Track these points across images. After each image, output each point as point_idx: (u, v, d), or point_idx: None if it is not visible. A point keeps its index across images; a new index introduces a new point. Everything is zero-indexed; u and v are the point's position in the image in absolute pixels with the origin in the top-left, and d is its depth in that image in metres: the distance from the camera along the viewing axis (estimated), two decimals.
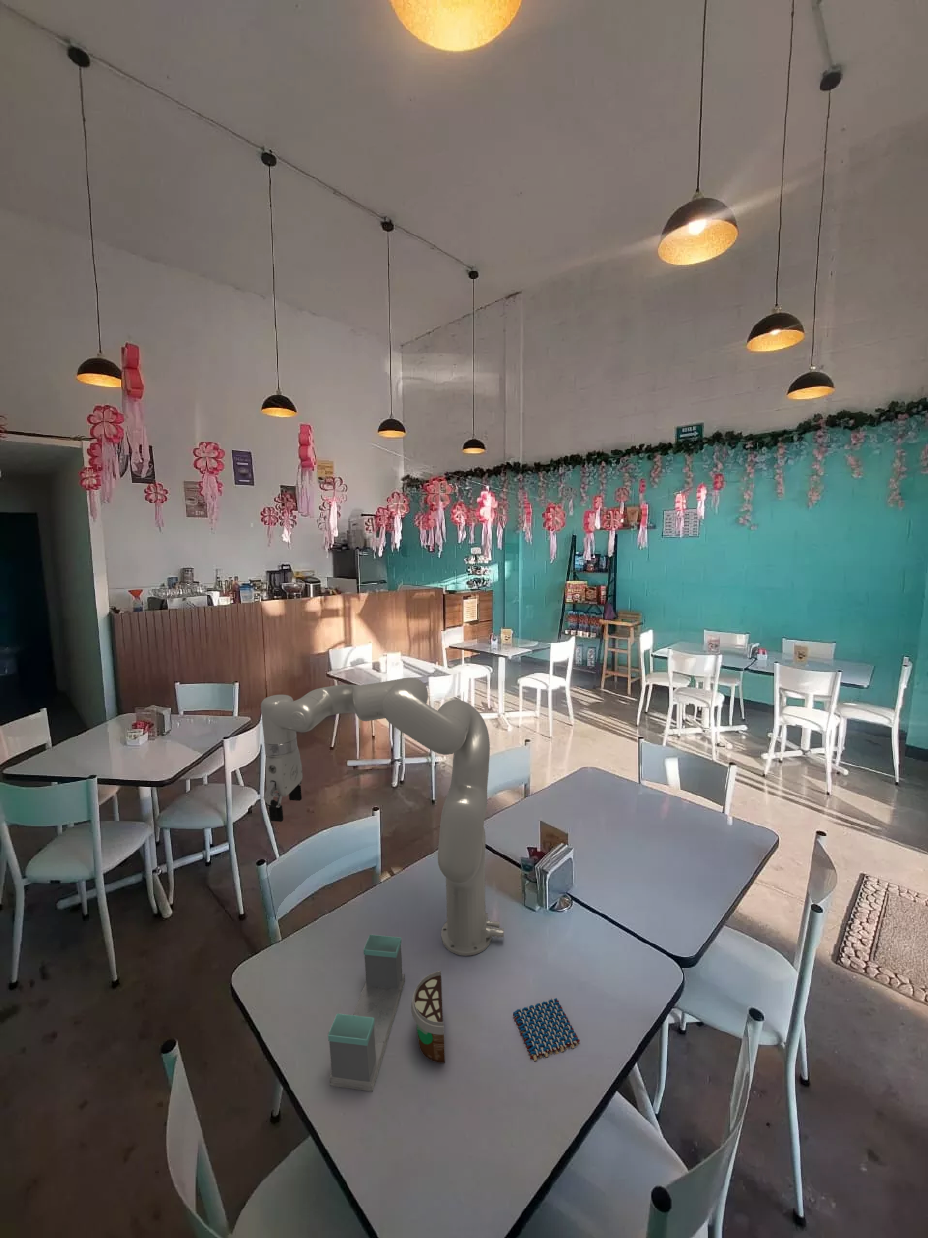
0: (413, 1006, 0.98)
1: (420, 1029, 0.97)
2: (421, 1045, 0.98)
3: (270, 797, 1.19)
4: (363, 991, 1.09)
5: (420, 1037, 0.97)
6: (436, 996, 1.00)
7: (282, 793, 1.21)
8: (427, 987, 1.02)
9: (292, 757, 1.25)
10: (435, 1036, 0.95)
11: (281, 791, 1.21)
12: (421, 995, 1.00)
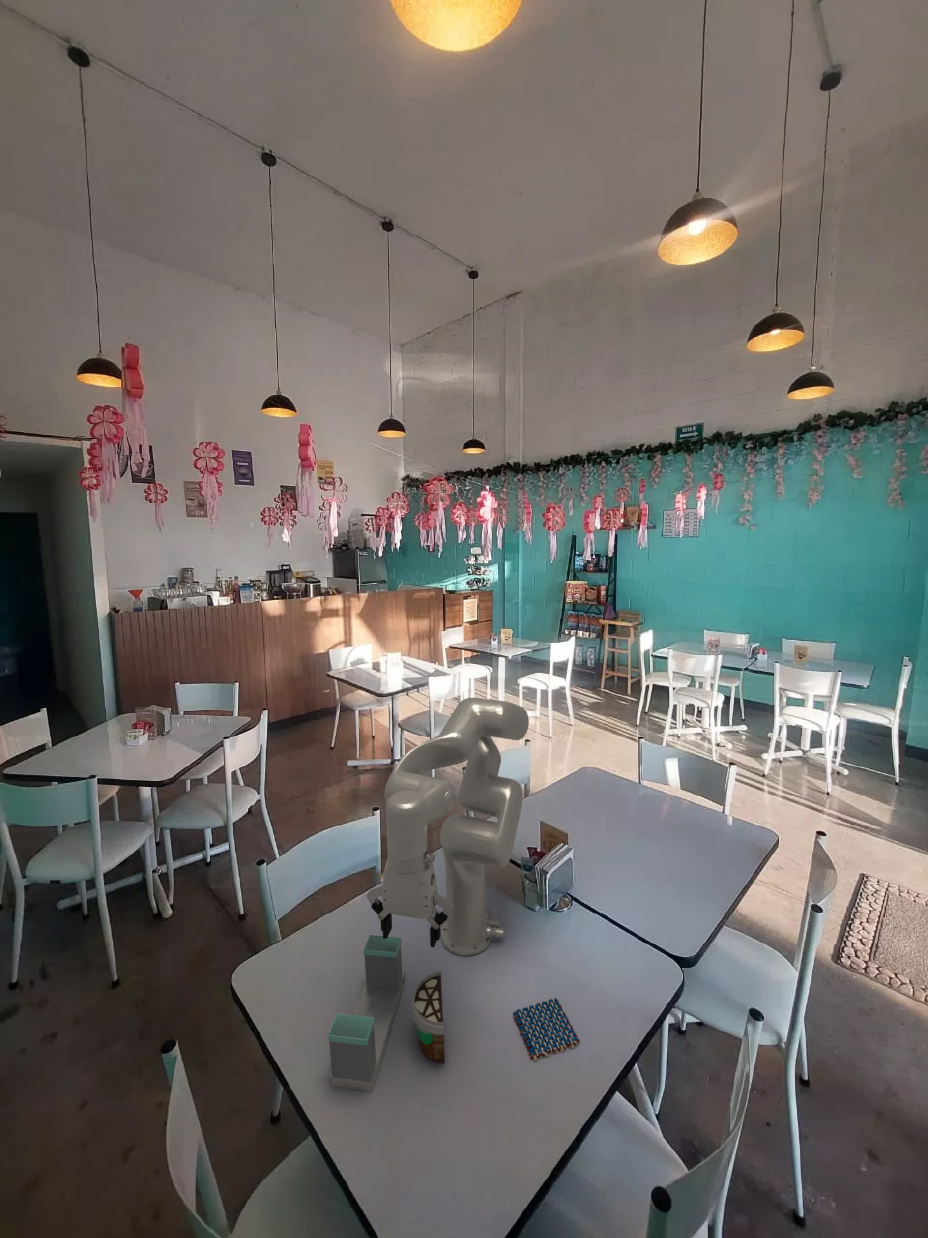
0: (413, 1006, 0.98)
1: (420, 1029, 0.97)
2: (421, 1045, 0.98)
3: None
4: (363, 991, 1.09)
5: (420, 1037, 0.97)
6: (436, 996, 1.00)
7: None
8: (427, 987, 1.02)
9: None
10: (435, 1036, 0.95)
11: None
12: (421, 995, 1.00)
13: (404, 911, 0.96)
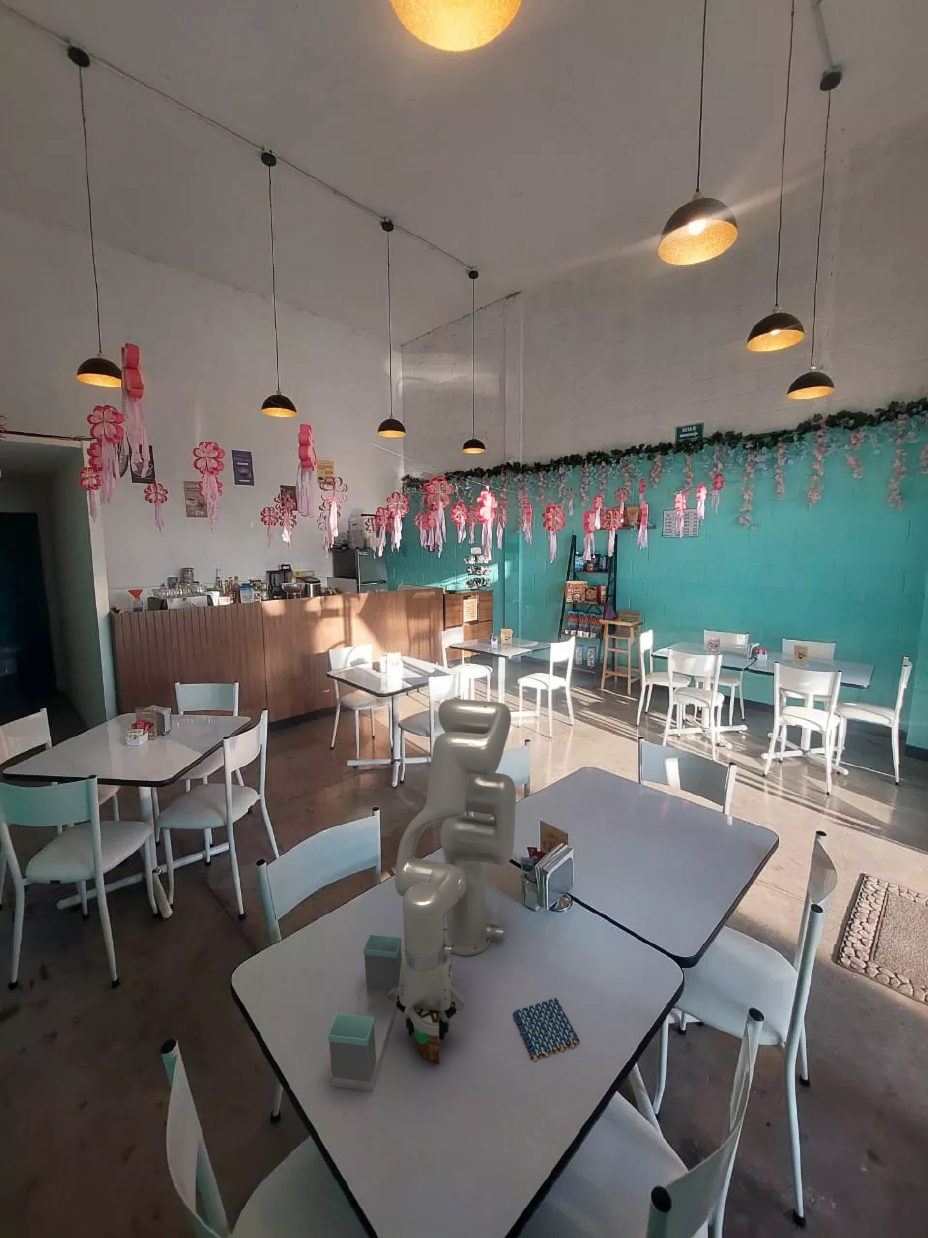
0: None
1: (416, 1028, 0.97)
2: (417, 1044, 0.98)
3: None
4: (363, 991, 1.09)
5: (416, 1036, 0.97)
6: None
7: None
8: None
9: None
10: (430, 1037, 0.95)
11: (453, 986, 1.00)
12: None
13: (422, 1004, 0.96)
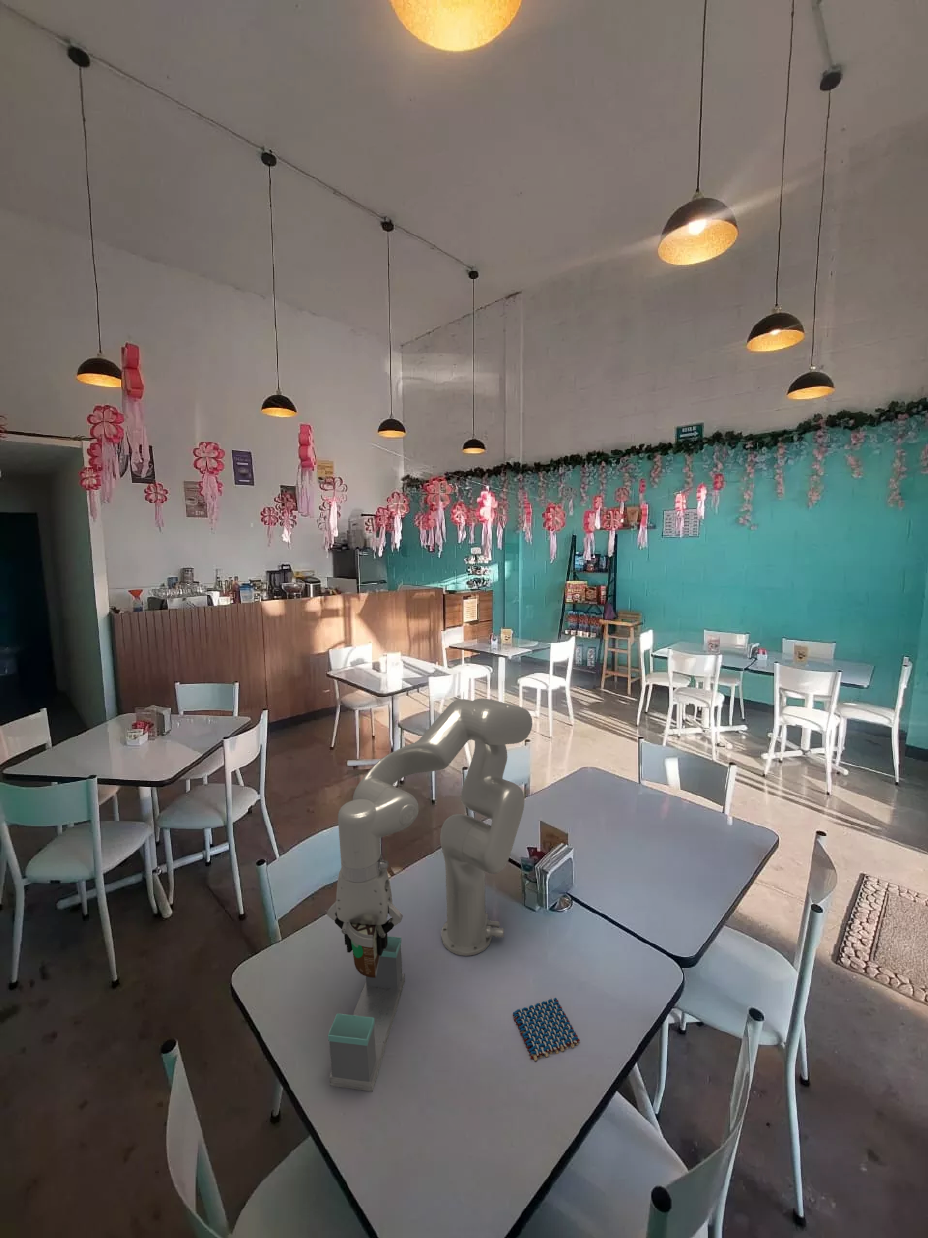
0: None
1: (352, 943, 0.97)
2: (354, 960, 0.98)
3: None
4: (363, 991, 1.09)
5: (353, 951, 0.98)
6: None
7: None
8: None
9: None
10: (365, 950, 0.95)
11: (391, 903, 1.00)
12: None
13: (359, 919, 0.97)
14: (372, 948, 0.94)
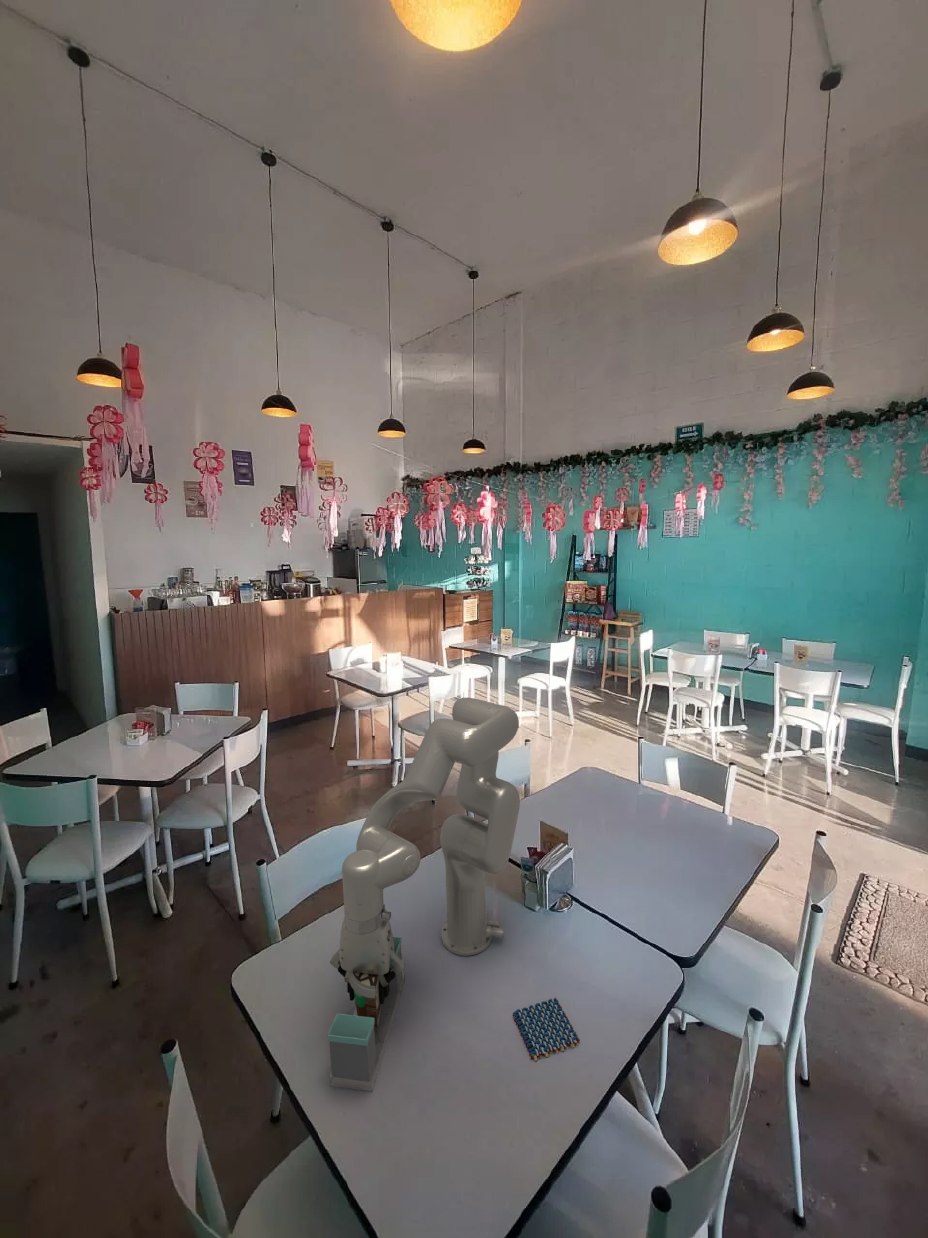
0: None
1: (355, 992, 0.99)
2: (357, 1008, 1.00)
3: None
4: None
5: (356, 1000, 0.99)
6: None
7: None
8: None
9: None
10: (368, 1000, 0.97)
11: (394, 952, 1.02)
12: None
13: (361, 968, 0.98)
14: (374, 999, 0.96)
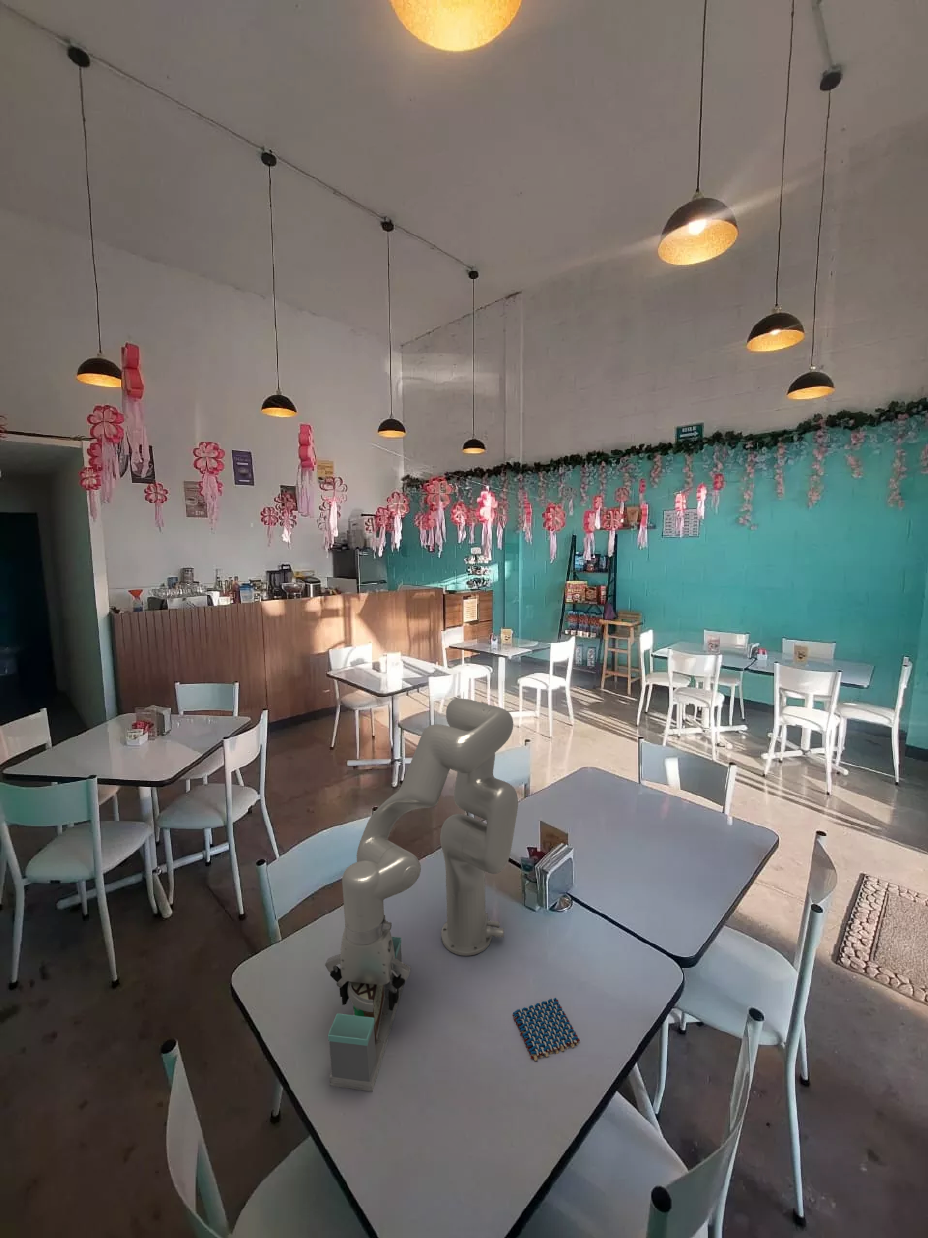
0: (349, 983, 1.01)
1: (354, 1005, 0.99)
2: None
3: None
4: None
5: (355, 1013, 1.00)
6: None
7: None
8: None
9: None
10: (366, 1013, 0.97)
11: None
12: None
13: (362, 978, 0.99)
14: (373, 1012, 0.97)
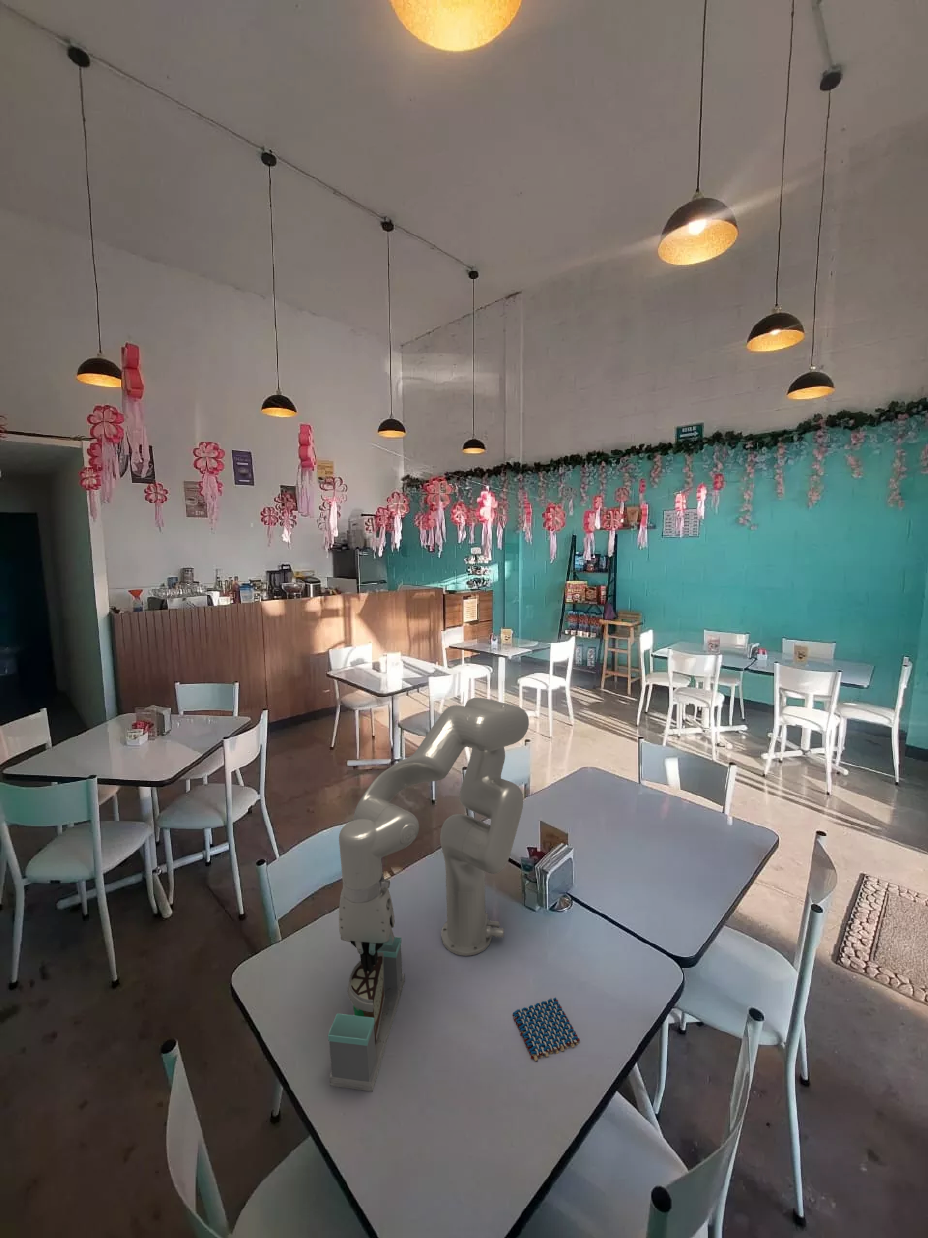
0: (349, 983, 1.01)
1: (354, 1005, 0.99)
2: None
3: None
4: None
5: (354, 1013, 1.00)
6: (373, 975, 1.02)
7: (394, 922, 1.01)
8: None
9: None
10: (366, 1013, 0.97)
11: (394, 921, 1.01)
12: (359, 973, 1.03)
13: (361, 937, 0.98)
14: (372, 1012, 0.97)
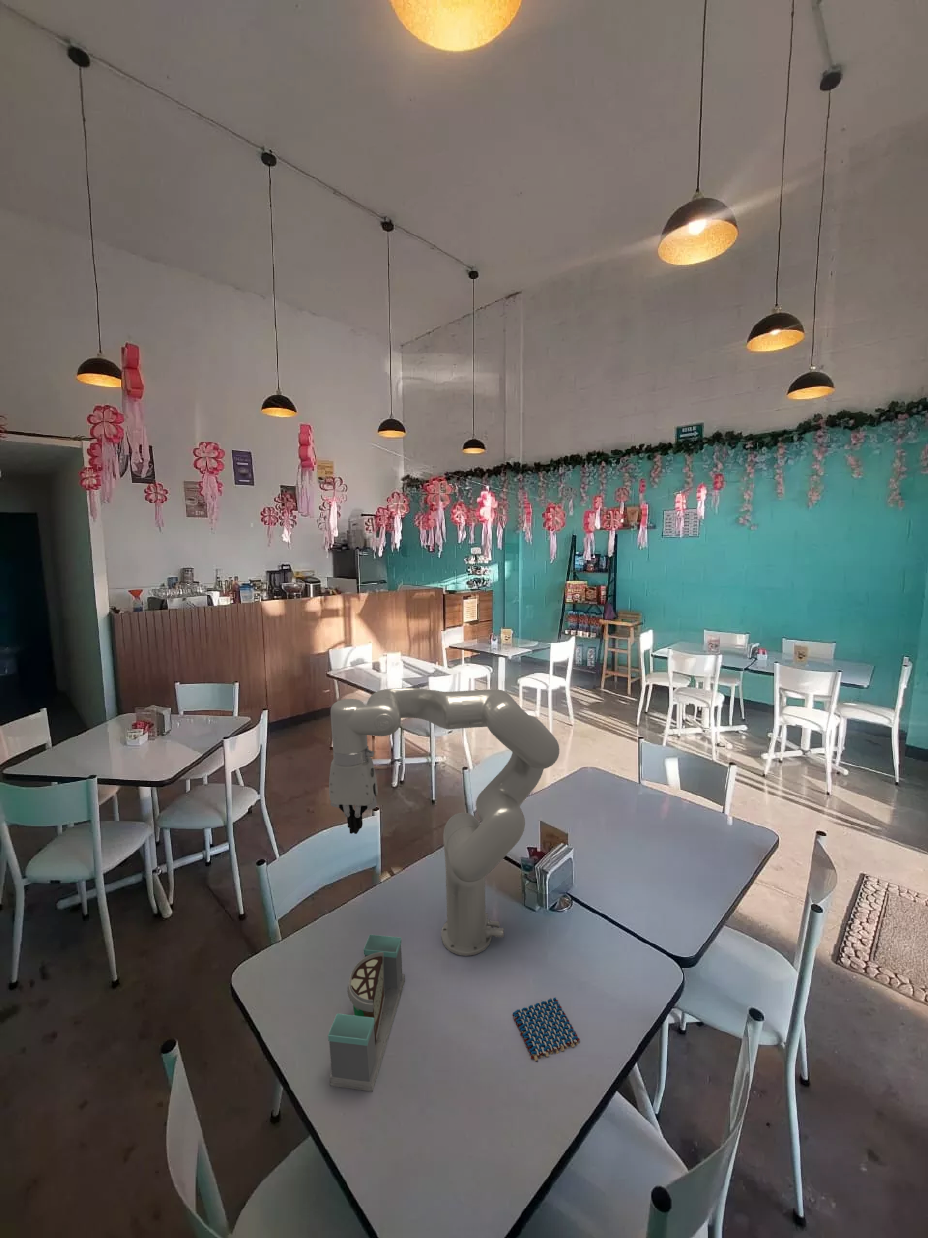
0: (349, 983, 1.01)
1: (354, 1005, 0.99)
2: None
3: None
4: None
5: (354, 1013, 1.00)
6: (373, 975, 1.02)
7: (377, 792, 1.17)
8: (367, 966, 1.05)
9: None
10: (366, 1013, 0.97)
11: (377, 790, 1.16)
12: (359, 973, 1.03)
13: (348, 800, 1.13)
14: (372, 1012, 0.97)
